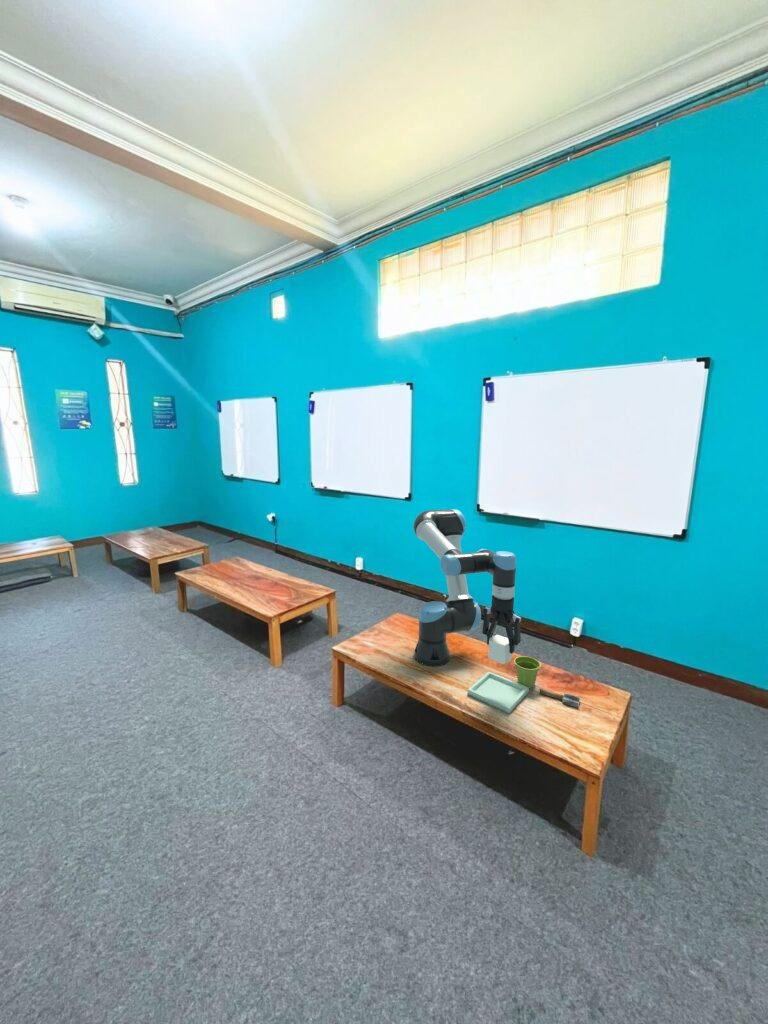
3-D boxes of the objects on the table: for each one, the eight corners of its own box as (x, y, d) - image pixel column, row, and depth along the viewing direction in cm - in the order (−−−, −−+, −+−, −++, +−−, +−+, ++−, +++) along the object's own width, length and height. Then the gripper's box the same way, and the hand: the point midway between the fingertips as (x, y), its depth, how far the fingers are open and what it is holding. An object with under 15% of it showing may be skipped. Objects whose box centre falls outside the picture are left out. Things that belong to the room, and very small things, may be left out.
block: (488, 658, 143) (489, 640, 142) (495, 652, 148) (496, 634, 147) (503, 664, 139) (505, 645, 138) (511, 657, 144) (512, 639, 143)
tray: (467, 694, 145) (467, 689, 145) (488, 676, 157) (488, 671, 157) (509, 714, 135) (509, 708, 134) (528, 692, 146) (528, 687, 146)
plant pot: (525, 693, 146) (526, 671, 145) (507, 679, 154) (508, 659, 153) (544, 687, 150) (546, 666, 148) (526, 674, 158) (527, 654, 157)
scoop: (538, 695, 145) (538, 691, 144) (540, 690, 148) (541, 685, 148) (578, 708, 138) (578, 703, 137) (579, 701, 141) (579, 697, 141)
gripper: (473, 592, 143) (471, 652, 147) (525, 606, 131) (521, 671, 134) (483, 586, 149) (481, 644, 153) (534, 599, 136) (530, 662, 140)
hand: (500, 657), depth 143 cm, fingers closed on block, 6 cm apart
